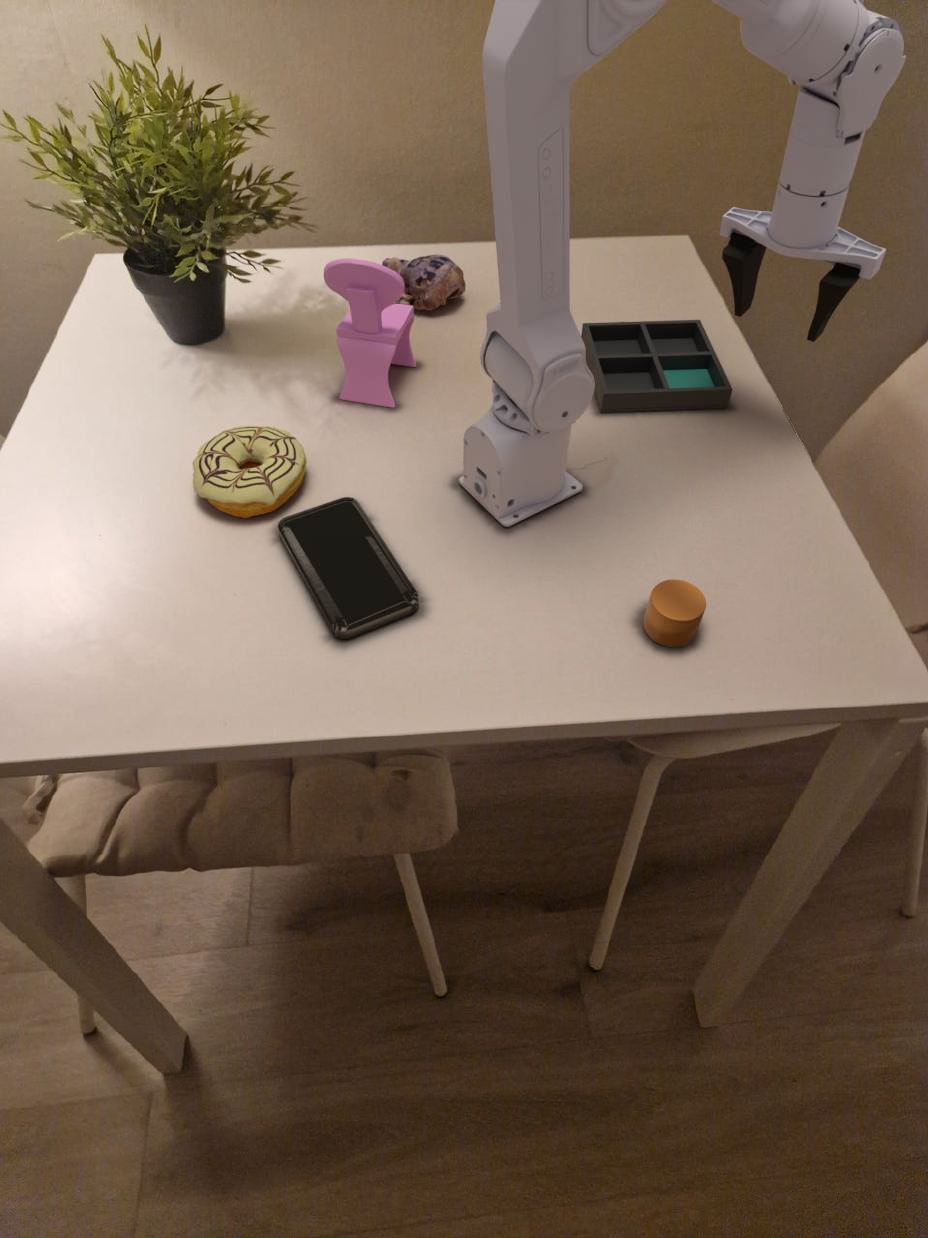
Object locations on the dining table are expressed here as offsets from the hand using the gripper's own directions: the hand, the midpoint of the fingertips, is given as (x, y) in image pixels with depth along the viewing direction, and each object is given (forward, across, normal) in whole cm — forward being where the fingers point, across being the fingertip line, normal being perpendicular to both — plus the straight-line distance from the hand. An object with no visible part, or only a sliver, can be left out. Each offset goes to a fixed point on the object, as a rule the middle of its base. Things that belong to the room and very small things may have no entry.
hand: (777, 323), depth 78 cm
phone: (+5, +16, +46) cm, 49 cm away
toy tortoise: (+8, +43, +7) cm, 44 cm away
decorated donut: (+4, +31, +44) cm, 54 cm away
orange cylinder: (+7, -9, +33) cm, 35 cm away
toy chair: (+6, +34, +23) cm, 42 cm away
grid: (+9, +12, +3) cm, 15 cm away
